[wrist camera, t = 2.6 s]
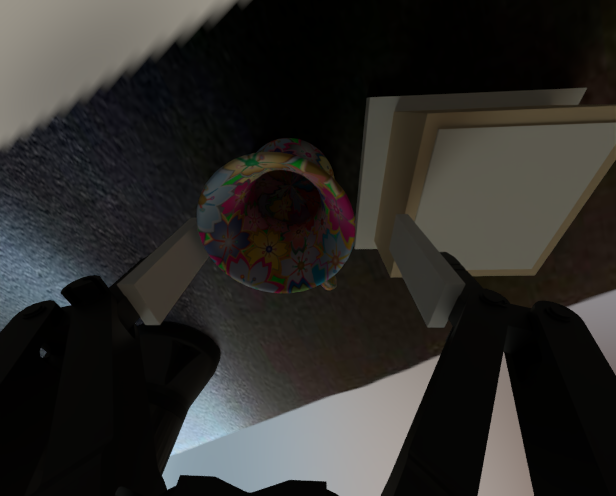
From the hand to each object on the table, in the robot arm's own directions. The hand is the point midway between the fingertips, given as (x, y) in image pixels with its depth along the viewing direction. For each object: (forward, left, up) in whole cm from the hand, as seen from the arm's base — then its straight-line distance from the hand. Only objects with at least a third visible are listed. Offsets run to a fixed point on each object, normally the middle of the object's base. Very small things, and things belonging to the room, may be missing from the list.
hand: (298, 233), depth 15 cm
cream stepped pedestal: (+14, +1, -8) cm, 16 cm away
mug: (0, 0, -9) cm, 9 cm away
